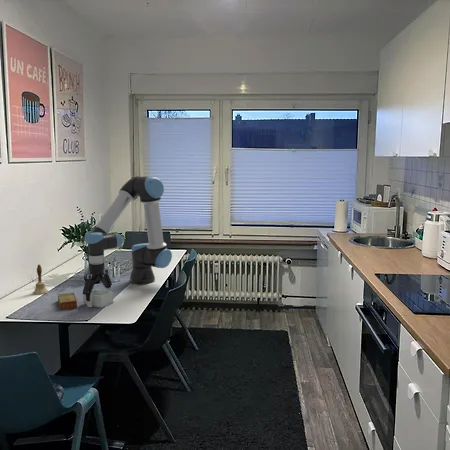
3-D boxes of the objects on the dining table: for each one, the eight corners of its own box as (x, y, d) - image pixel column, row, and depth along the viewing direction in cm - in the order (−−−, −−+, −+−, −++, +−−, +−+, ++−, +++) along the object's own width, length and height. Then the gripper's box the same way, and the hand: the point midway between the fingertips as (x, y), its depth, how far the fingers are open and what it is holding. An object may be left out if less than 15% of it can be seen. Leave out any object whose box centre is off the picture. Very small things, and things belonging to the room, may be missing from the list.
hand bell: (30, 292, 256) (28, 264, 254) (45, 289, 262) (44, 262, 259) (35, 295, 250) (33, 267, 248) (50, 292, 255) (49, 265, 253)
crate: (95, 299, 243) (95, 288, 242) (113, 302, 237) (112, 291, 237) (83, 304, 235) (82, 293, 234) (101, 307, 229) (101, 296, 229)
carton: (60, 310, 226) (59, 302, 226) (58, 301, 241) (57, 293, 240) (77, 308, 230) (77, 300, 229) (74, 299, 244) (74, 291, 244)
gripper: (106, 257, 245) (108, 295, 248) (73, 267, 224) (75, 309, 227) (117, 258, 242) (119, 297, 245) (85, 268, 220) (87, 311, 224)
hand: (98, 303), depth 236 cm, fingers open, 12 cm apart
